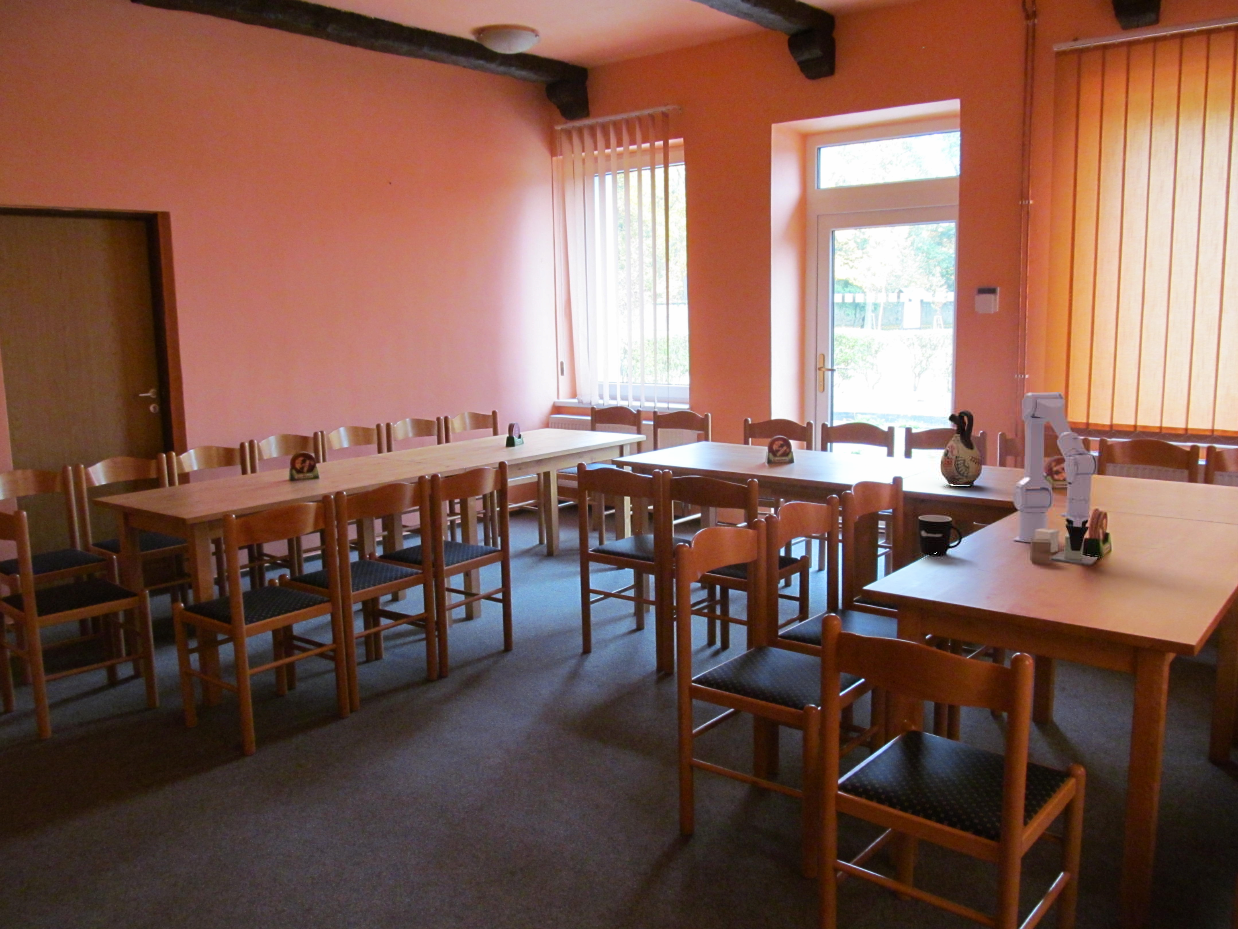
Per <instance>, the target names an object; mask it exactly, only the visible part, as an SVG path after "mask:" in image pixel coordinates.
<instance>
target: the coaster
mask: <svg viewBox="0 0 1238 929" xmlns="http://www.w3.org/2000/svg"><path fill="white" fill-rule="evenodd" d="M1097 558H1098V557H1090V556H1085V555H1083V560H1082V559H1069V558H1064V551H1062V550H1061V551H1057V553H1056V554H1054V555H1053V556H1051V557H1050V561H1052V560H1053V561H1052V562H1059V561H1061V563H1067V562H1069V563H1068V564H1076V565H1082V564H1084V565H1083V566H1090V565H1091V564H1092V565H1093V564H1094V563H1095V562H1096V561H1098V560H1097ZM1092 565H1091V566H1092Z"/></svg>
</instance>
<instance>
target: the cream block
mask: <svg viewBox="0 0 1238 929" xmlns="http://www.w3.org/2000/svg"><path fill="white" fill-rule="evenodd" d="M1059 534H1060V530H1059V529H1053V528H1048V527H1047V528H1041V529H1037V530H1035V538H1043V539H1049V540H1050V541H1051V552H1053V553H1055V551H1056V552H1059V536H1060V535H1059ZM1051 552H1050V554H1052V553H1051Z"/></svg>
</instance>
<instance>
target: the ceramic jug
mask: <svg viewBox="0 0 1238 929" xmlns="http://www.w3.org/2000/svg"><path fill="white" fill-rule="evenodd" d="M965 417H966V418H965ZM948 421H950V423H953V424H954V425H955V426H956V431H955V433H954V435H953V437H952V438H951V439H950V441H949V442H948V444H947V446H946V447H945V448H944V451H943V453H942V456H941V460H940V464H939V465H940V472H941V475H942V477H944V479H945V480H946V482H947V483H948V485H949V484H953V485H974V486H975V482H976V481H977V480H978V478H979V477H980V475H981V474H982V470H983V469H982V468H983V464H982V458H981V454H980V452H979V450H978V448H977V446H976V444H975V443H974V442H973V441H972V439H971V436H972V434H973V433H972V432H973V427H974V421H975V420H974V415H973V414H972V412H971V411H969V410H966V409H965V410H961V411H959V412H958V414H957V415H956V414H955V413H951V414H950V415H949V417H948Z"/></svg>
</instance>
